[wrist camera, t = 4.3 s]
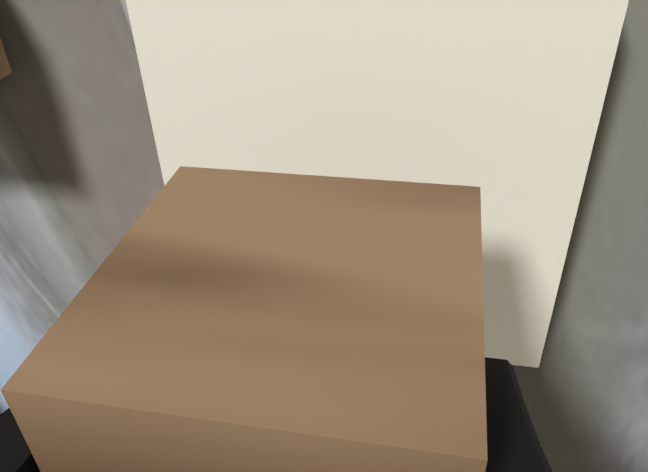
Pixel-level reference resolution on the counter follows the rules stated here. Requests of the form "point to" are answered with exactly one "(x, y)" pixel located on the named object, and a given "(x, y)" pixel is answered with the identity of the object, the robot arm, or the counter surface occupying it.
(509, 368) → the robot arm
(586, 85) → the base
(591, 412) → the counter surface
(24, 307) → the counter surface
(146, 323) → the walnut block
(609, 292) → the counter surface
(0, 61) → the maple block
